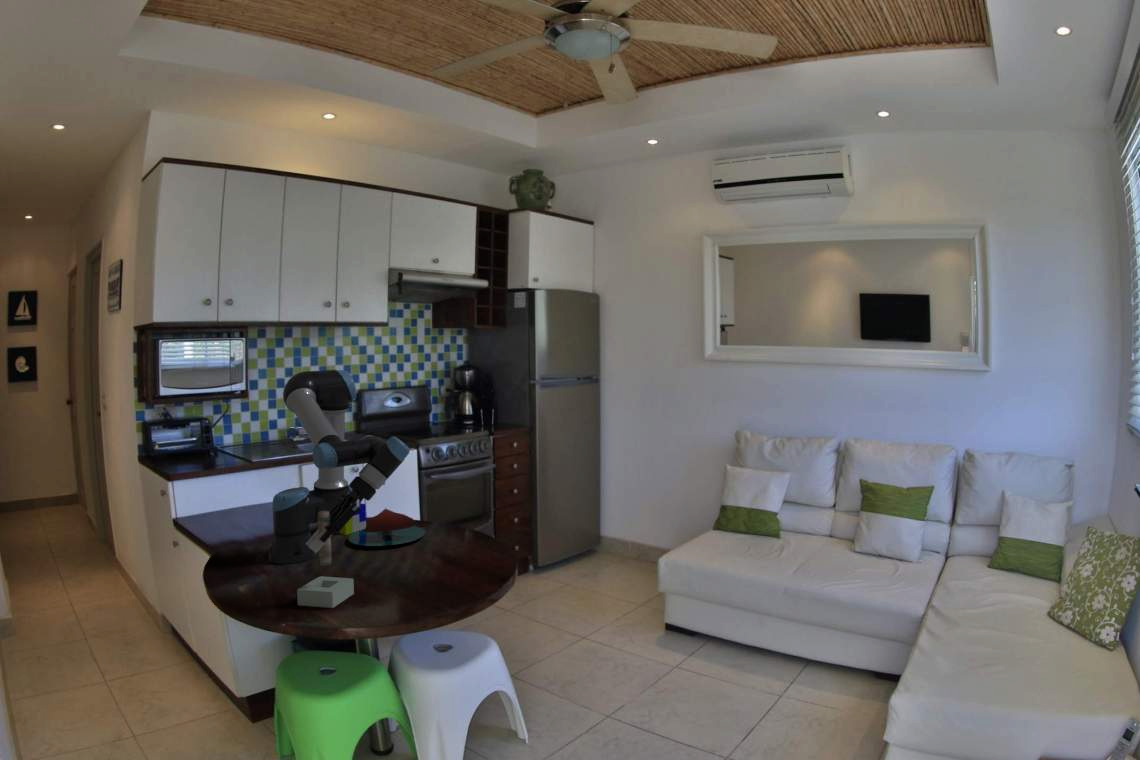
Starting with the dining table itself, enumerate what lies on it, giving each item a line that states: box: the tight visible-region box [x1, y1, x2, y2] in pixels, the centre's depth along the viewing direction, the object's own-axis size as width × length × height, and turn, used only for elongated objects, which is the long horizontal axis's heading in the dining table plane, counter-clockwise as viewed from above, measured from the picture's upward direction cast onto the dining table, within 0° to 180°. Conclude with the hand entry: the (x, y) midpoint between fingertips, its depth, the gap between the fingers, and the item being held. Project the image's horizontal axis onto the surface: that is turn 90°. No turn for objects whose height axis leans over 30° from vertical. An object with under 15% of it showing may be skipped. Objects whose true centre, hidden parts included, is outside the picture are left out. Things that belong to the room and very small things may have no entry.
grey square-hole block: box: [296, 575, 355, 609], centre depth 194 cm, size 11×11×4 cm
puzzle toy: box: [337, 502, 367, 536], centre depth 268 cm, size 10×10×10 cm
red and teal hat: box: [348, 508, 426, 547], centre depth 254 cm, size 28×28×11 cm
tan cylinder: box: [317, 511, 333, 566], centre depth 193 cm, size 3×3×15 cm
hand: (310, 548), depth 191 cm, fingers closed on tan cylinder, 3 cm apart
